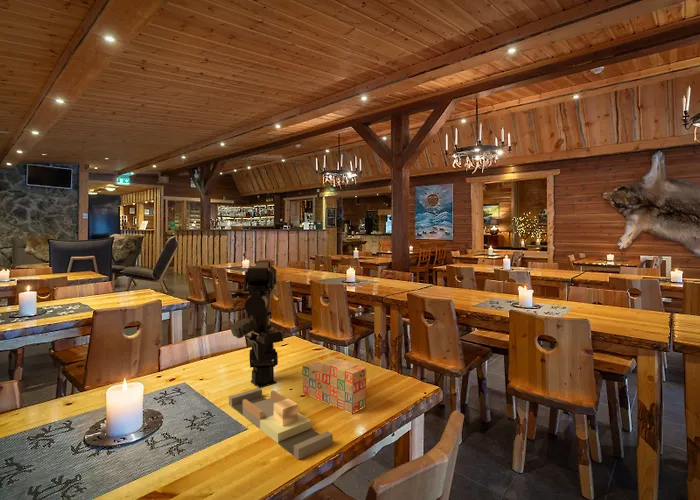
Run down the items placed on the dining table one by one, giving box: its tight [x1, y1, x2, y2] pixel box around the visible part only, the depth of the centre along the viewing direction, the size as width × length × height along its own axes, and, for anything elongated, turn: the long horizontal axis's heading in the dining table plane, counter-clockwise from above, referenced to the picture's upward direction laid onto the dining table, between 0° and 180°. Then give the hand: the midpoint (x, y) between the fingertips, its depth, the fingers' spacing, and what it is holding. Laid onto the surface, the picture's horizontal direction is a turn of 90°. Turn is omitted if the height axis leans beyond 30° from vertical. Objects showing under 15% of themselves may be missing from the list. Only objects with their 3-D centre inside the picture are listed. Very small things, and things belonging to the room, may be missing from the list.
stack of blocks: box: [301, 357, 367, 414], centre depth 122 cm, size 21×6×12 cm, turn 49°
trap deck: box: [228, 387, 334, 460], centre depth 108 cm, size 10×37×4 cm, turn 41°
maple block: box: [274, 398, 299, 426], centre depth 104 cm, size 4×4×4 cm
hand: (259, 359), depth 120 cm, fingers closed
